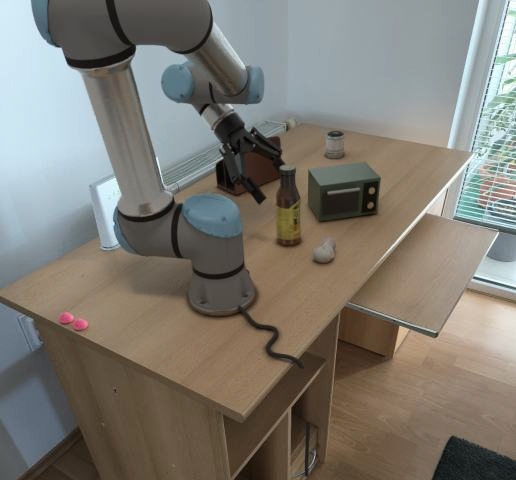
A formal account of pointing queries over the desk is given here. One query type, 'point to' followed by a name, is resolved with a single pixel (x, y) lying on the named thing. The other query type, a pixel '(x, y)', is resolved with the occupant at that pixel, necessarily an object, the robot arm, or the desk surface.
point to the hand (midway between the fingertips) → (277, 191)
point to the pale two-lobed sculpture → (325, 251)
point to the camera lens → (335, 144)
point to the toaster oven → (343, 191)
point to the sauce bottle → (288, 207)
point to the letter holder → (249, 171)
